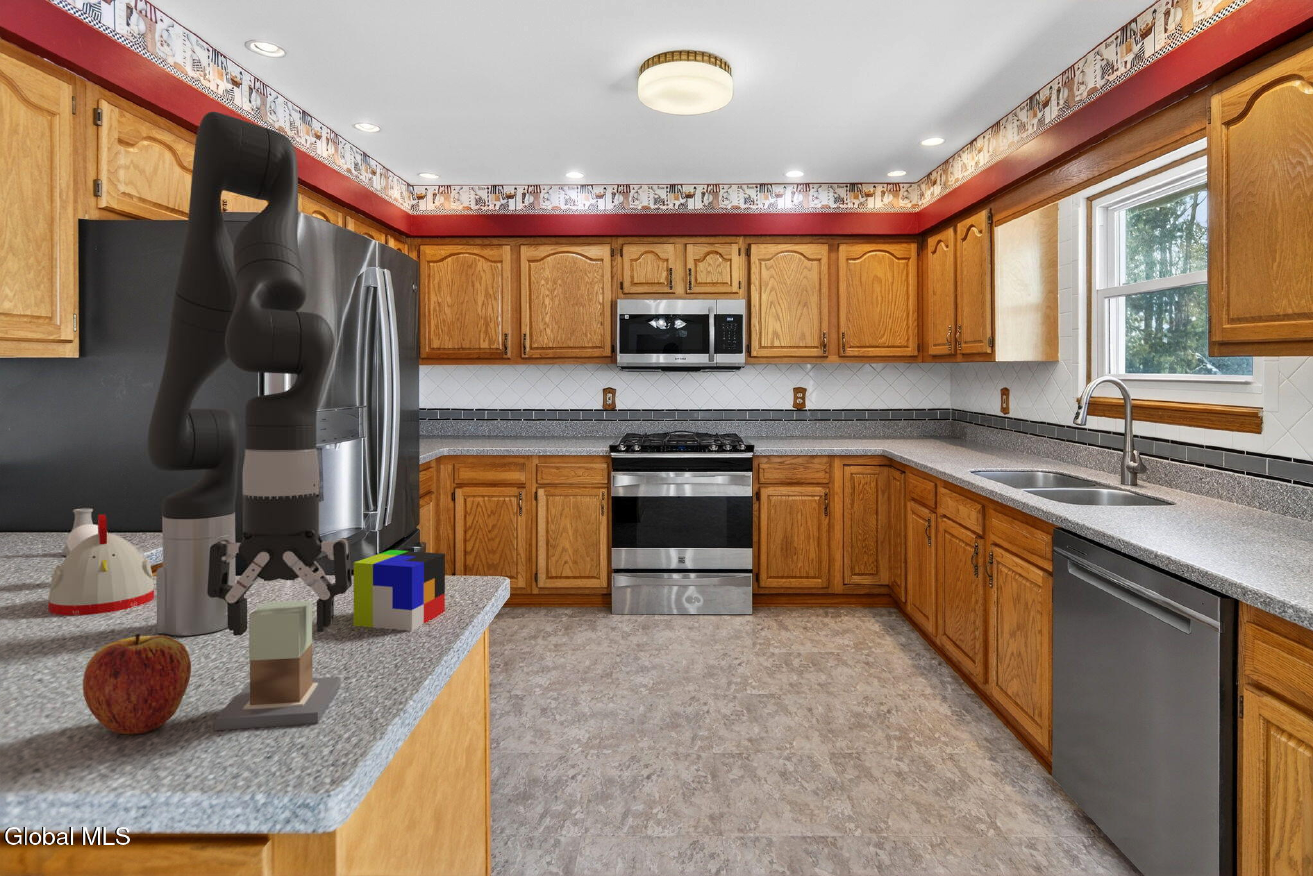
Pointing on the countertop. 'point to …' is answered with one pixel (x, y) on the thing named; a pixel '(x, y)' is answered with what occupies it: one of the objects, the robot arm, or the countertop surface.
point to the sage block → (280, 630)
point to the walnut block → (280, 679)
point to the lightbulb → (81, 535)
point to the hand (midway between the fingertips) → (282, 631)
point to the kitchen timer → (101, 577)
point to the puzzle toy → (399, 589)
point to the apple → (137, 682)
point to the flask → (79, 523)
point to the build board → (279, 708)
